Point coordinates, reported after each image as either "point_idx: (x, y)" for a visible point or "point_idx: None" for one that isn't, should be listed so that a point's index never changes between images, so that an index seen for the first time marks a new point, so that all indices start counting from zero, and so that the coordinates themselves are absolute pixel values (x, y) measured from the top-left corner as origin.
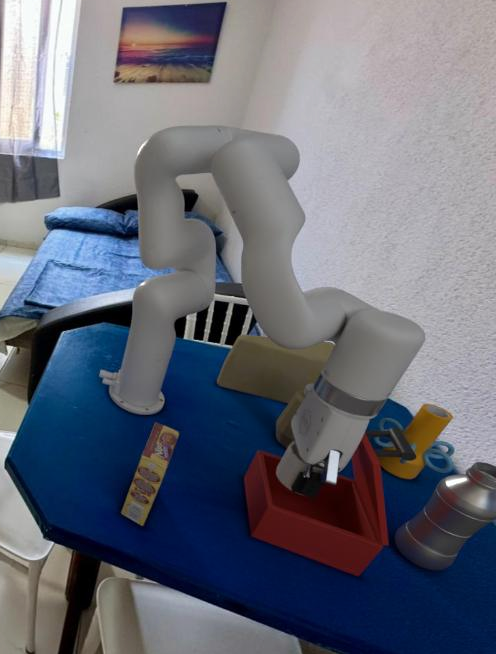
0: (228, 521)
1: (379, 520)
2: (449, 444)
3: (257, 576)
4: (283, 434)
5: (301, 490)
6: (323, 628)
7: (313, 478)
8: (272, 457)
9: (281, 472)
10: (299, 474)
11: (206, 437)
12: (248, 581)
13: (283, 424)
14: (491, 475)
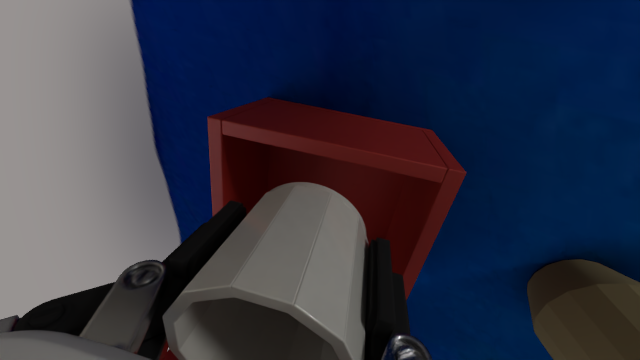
0: (288, 53)
1: (167, 352)
2: None
3: (188, 83)
4: (588, 283)
5: (200, 226)
6: (159, 159)
7: (81, 297)
8: (431, 208)
9: (281, 197)
10: (182, 251)
11: (618, 51)
12: (171, 62)
13: (632, 306)
14: None
